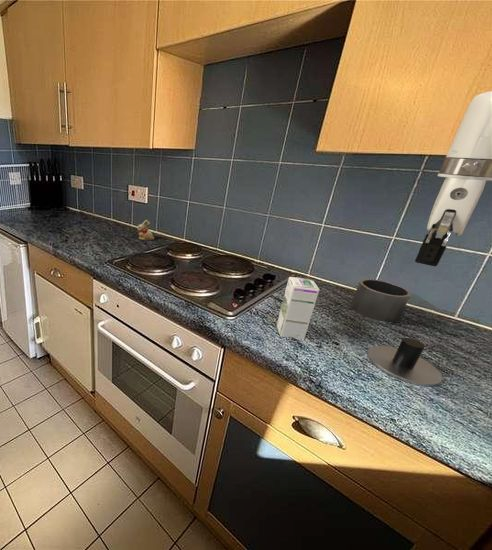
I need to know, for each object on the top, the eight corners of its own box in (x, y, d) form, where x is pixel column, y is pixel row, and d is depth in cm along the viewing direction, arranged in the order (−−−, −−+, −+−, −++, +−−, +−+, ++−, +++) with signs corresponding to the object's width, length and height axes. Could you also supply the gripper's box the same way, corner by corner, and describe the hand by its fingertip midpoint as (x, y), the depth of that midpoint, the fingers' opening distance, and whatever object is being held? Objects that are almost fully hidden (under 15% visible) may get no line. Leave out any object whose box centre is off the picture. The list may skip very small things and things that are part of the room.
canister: (355, 300, 96) (365, 275, 93) (401, 314, 88) (413, 288, 85) (345, 311, 89) (355, 285, 85) (394, 328, 81) (407, 300, 78)
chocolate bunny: (141, 236, 154) (142, 216, 150) (155, 239, 150) (156, 219, 146) (135, 238, 149) (136, 218, 145) (149, 241, 145) (150, 221, 141)
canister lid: (372, 343, 75) (382, 320, 72) (442, 370, 66) (456, 345, 64) (359, 365, 67) (370, 340, 64) (437, 398, 58) (453, 371, 56)
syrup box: (304, 341, 74) (322, 289, 68) (278, 337, 75) (293, 285, 70) (299, 329, 79) (314, 279, 73) (274, 325, 81) (288, 275, 75)
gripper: (505, 173, 46) (452, 275, 53) (495, 170, 58) (452, 255, 64) (439, 169, 51) (397, 262, 58) (442, 167, 62) (407, 246, 69)
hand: (426, 258), depth 61 cm, fingers open, 9 cm apart
